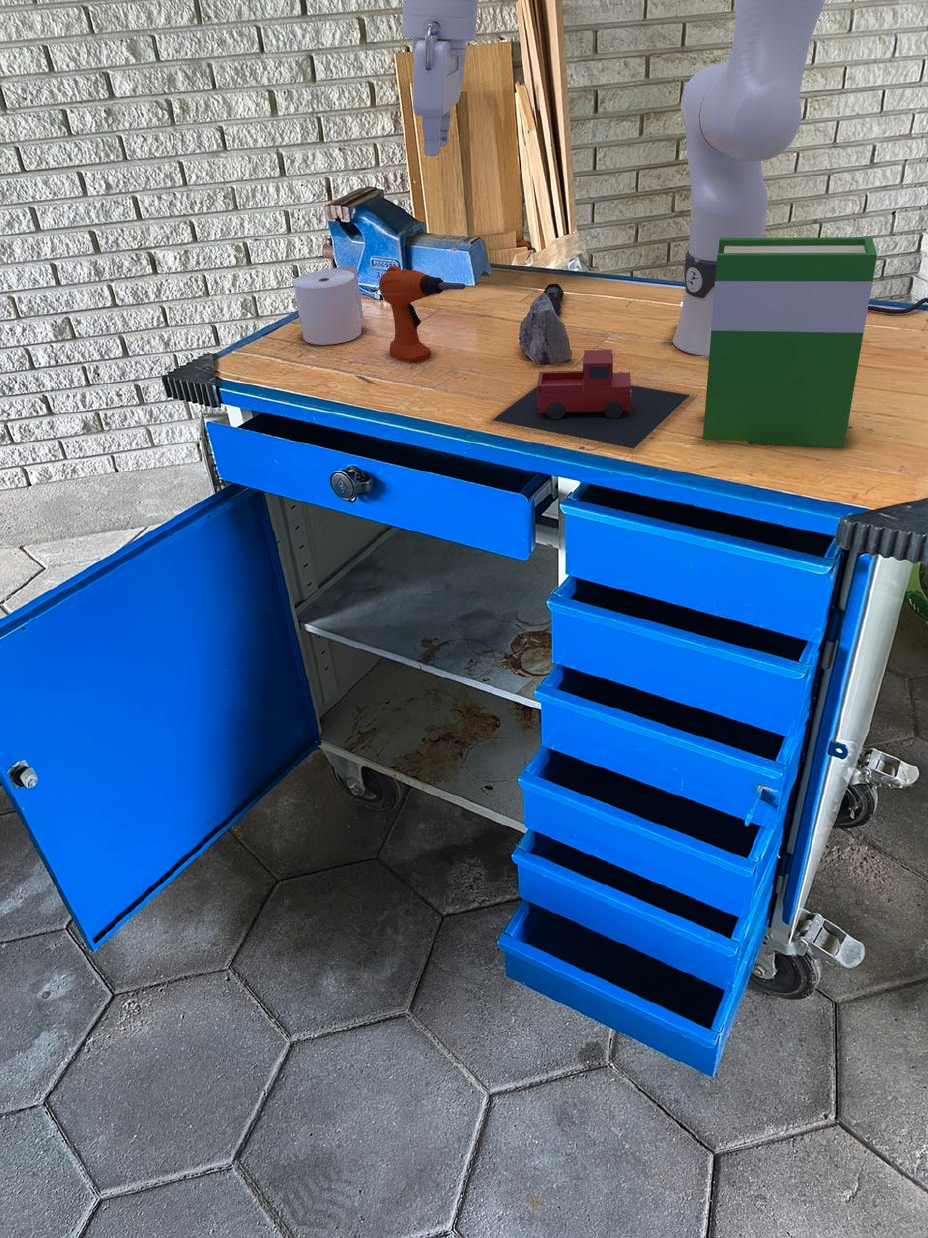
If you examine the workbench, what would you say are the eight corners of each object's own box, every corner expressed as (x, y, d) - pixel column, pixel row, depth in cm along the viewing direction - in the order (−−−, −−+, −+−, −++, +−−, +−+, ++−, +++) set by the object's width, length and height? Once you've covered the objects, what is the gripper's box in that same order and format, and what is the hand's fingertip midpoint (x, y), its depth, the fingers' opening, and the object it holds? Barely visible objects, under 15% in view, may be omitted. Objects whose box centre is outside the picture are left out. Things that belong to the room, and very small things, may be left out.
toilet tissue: (297, 347, 168) (287, 289, 163) (310, 323, 178) (301, 268, 172) (357, 344, 167) (349, 285, 162) (367, 320, 177) (359, 265, 171)
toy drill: (466, 369, 150) (450, 270, 143) (385, 360, 162) (365, 269, 155) (486, 359, 153) (471, 262, 145) (405, 351, 165) (387, 261, 158)
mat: (555, 374, 150) (555, 372, 149) (689, 397, 139) (689, 394, 139) (491, 422, 137) (491, 419, 137) (633, 450, 127) (633, 448, 126)
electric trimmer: (537, 326, 168) (536, 308, 167) (544, 297, 181) (543, 280, 179) (558, 326, 168) (558, 308, 166) (564, 296, 180) (564, 279, 178)
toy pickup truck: (537, 420, 136) (536, 365, 131) (540, 403, 140) (538, 350, 136) (630, 418, 134) (632, 363, 129) (629, 401, 138) (631, 347, 134)
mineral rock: (526, 336, 164) (523, 276, 158) (587, 339, 161) (587, 278, 155) (502, 364, 155) (499, 302, 149) (567, 368, 151) (567, 304, 145)
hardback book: (702, 441, 127) (717, 255, 113) (705, 418, 133) (719, 237, 119) (843, 447, 123) (877, 254, 109) (840, 423, 129) (872, 236, 115)
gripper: (457, 24, 105) (452, 163, 113) (473, 21, 122) (468, 142, 130) (400, 21, 106) (399, 159, 113) (424, 19, 123) (422, 139, 130)
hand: (436, 150), depth 122 cm, fingers open, 8 cm apart
